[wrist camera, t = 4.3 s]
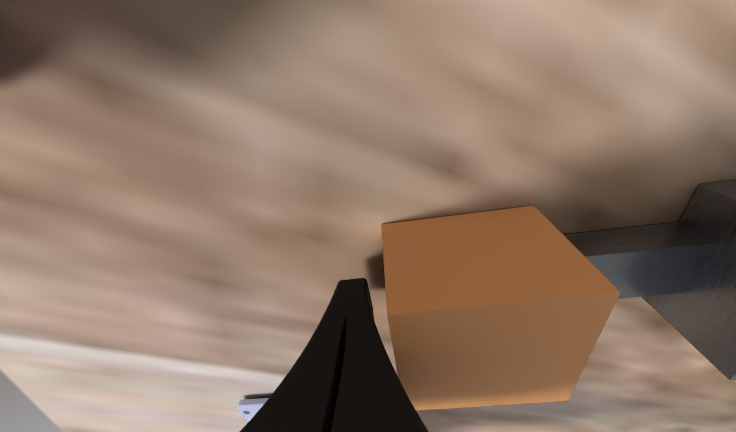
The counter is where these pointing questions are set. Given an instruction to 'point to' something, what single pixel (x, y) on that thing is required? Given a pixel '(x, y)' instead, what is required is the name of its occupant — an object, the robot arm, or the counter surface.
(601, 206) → the counter surface
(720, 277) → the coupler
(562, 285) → the notched orange block
